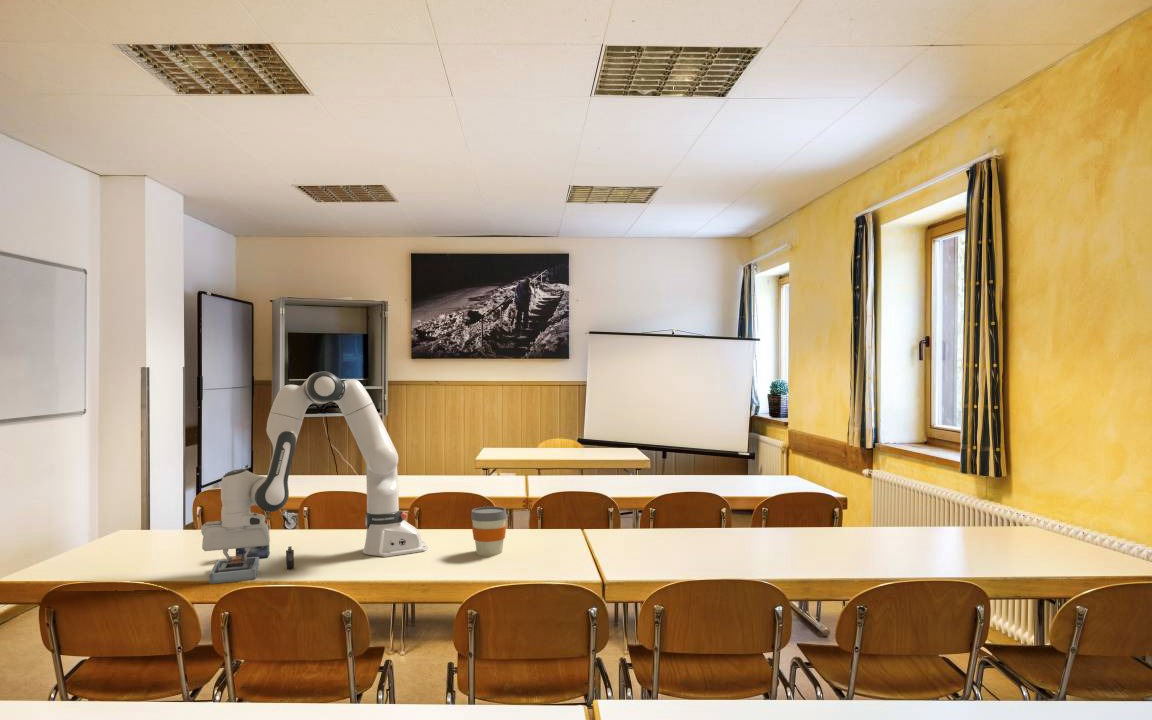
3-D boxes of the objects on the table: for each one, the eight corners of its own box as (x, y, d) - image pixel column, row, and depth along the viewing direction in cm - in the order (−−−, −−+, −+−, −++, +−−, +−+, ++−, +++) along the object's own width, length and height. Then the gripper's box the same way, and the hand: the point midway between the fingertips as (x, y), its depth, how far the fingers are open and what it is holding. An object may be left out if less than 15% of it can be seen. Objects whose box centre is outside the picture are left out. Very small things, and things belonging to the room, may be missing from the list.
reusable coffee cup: (501, 557, 257) (500, 513, 258) (466, 556, 260) (465, 513, 260) (511, 548, 270) (511, 506, 270) (478, 547, 272) (477, 506, 272)
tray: (259, 565, 253) (259, 556, 253) (255, 579, 237) (255, 569, 237) (217, 569, 249) (216, 560, 249) (209, 583, 232) (209, 574, 232)
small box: (235, 561, 259) (234, 530, 259) (238, 556, 266) (237, 526, 266) (267, 558, 262) (267, 528, 262) (270, 554, 268) (269, 524, 268)
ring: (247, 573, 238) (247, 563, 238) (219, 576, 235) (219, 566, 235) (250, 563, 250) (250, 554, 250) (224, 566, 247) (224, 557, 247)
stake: (294, 567, 250) (293, 546, 250) (293, 569, 247) (293, 548, 247) (286, 567, 249) (286, 546, 249) (286, 570, 246) (285, 548, 246)
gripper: (199, 524, 240) (200, 567, 240) (268, 518, 247) (269, 560, 247) (202, 520, 246) (203, 562, 246) (269, 515, 253) (270, 556, 253)
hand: (236, 561), depth 247 cm, fingers closed on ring, 3 cm apart
